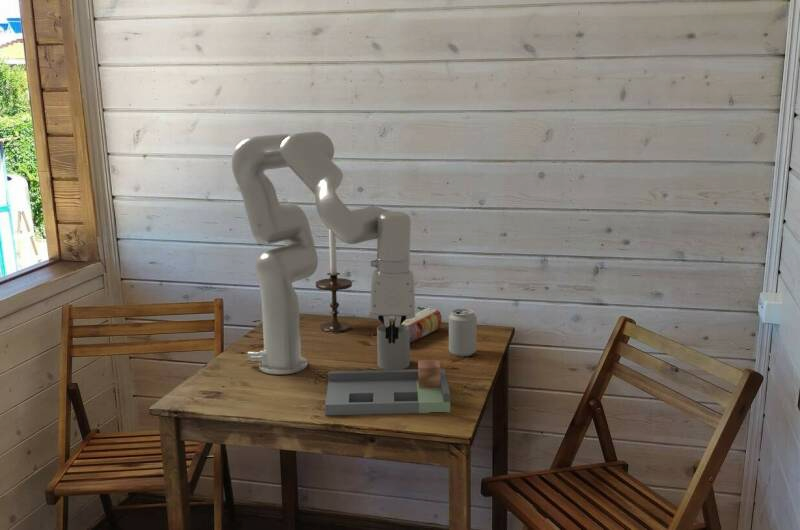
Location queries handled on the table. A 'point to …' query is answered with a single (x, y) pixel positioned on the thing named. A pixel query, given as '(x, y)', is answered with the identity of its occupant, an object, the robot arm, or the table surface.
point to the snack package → (423, 323)
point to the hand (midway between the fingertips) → (391, 341)
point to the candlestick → (334, 290)
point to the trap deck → (383, 393)
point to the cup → (393, 349)
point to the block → (429, 374)
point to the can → (462, 332)
